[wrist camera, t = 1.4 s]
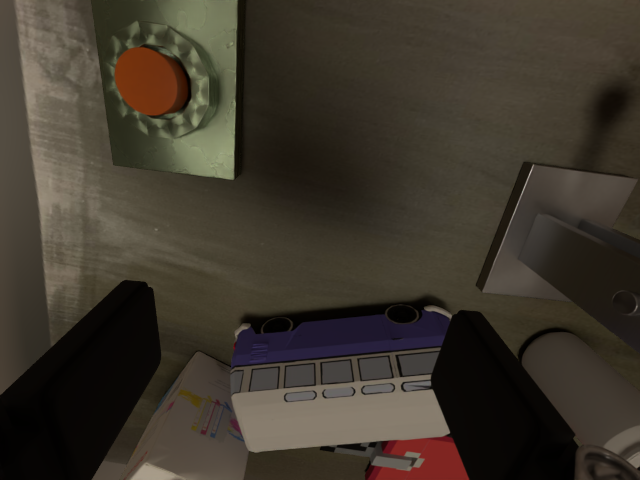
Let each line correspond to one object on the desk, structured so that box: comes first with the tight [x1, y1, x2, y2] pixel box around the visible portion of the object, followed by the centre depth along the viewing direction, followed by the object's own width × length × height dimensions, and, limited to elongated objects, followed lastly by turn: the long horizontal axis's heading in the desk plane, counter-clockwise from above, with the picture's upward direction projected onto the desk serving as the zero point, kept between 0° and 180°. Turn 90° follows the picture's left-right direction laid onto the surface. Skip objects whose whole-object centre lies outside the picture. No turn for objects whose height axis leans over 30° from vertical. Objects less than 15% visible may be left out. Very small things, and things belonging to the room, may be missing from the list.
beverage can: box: [522, 332, 640, 471], centre depth 28 cm, size 6×6×12 cm
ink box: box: [119, 351, 249, 480], centre depth 29 cm, size 9×8×13 cm
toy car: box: [230, 304, 452, 453], centre depth 28 cm, size 10×22×10 cm, turn 97°
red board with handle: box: [320, 433, 469, 480], centre depth 39 cm, size 30×3×15 cm
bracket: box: [476, 162, 640, 354], centre depth 22 cm, size 12×9×13 cm
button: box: [115, 47, 188, 116], centre depth 19 cm, size 4×4×2 cm
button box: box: [91, 0, 246, 180], centre depth 21 cm, size 12×9×4 cm
